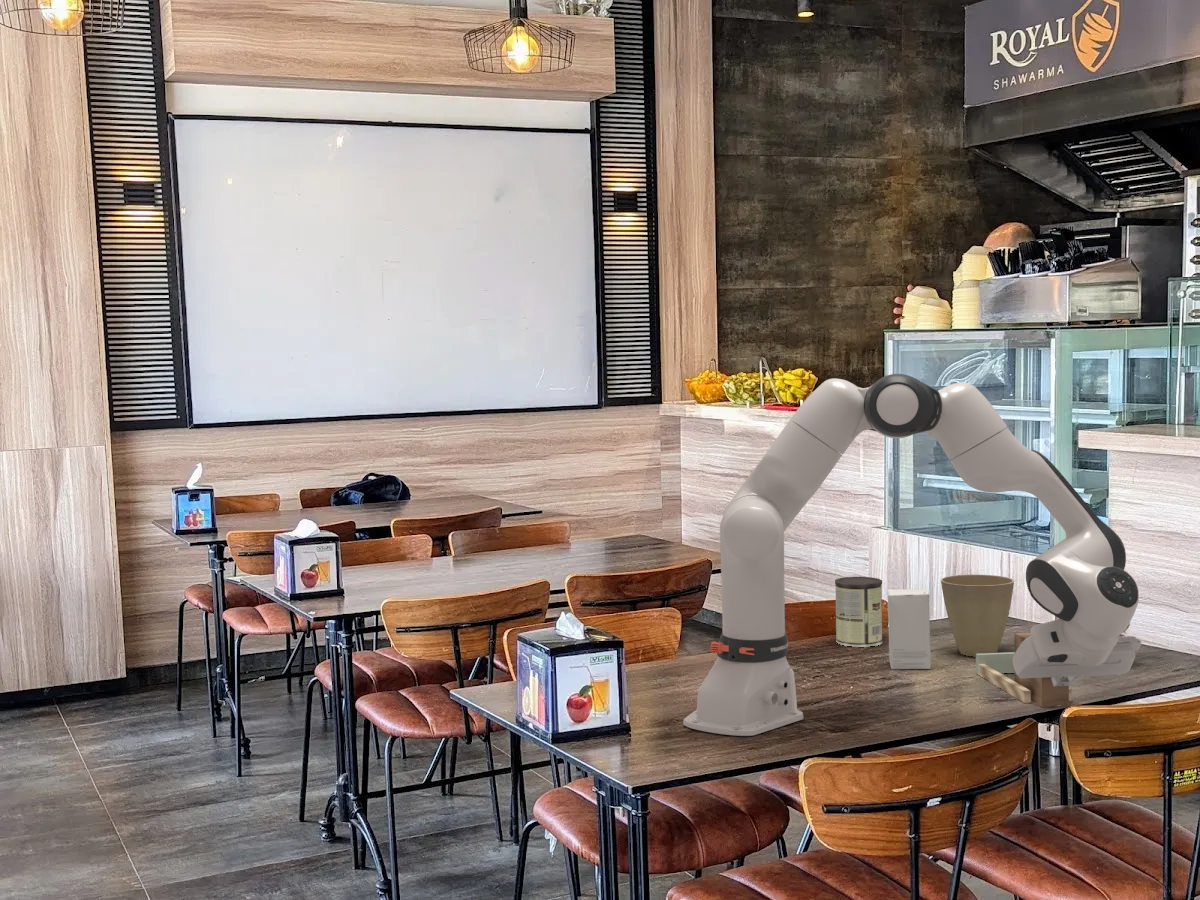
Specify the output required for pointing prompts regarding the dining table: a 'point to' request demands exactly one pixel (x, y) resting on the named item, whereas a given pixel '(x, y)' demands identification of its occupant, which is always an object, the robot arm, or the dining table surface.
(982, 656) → the end stop
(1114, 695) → the dining table surface
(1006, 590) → the plant pot
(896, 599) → the skincare box
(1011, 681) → the chute
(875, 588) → the coffee can
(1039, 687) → the block
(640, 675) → the dining table surface
